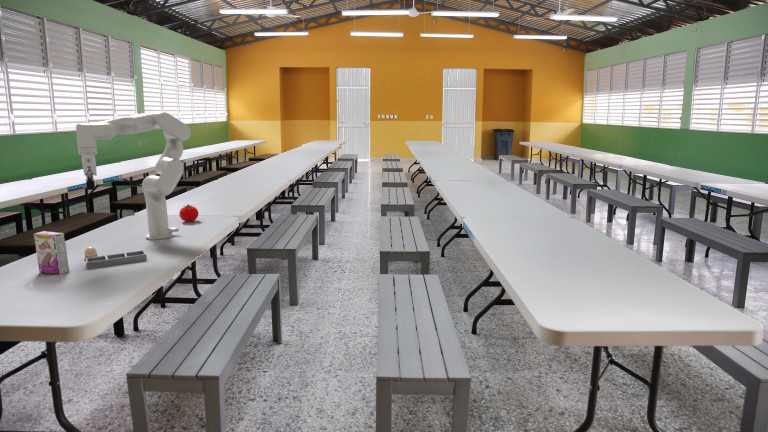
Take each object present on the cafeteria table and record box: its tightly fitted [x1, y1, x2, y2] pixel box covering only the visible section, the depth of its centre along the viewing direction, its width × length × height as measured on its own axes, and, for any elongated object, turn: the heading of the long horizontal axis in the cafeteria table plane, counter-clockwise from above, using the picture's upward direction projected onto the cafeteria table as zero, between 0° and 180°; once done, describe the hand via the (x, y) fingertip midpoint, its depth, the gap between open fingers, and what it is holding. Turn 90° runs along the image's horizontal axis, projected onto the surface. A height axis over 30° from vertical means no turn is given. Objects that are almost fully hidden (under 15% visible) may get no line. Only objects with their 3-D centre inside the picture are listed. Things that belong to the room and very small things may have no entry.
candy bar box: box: [33, 230, 70, 276], centre depth 212 cm, size 11×5×16 cm, turn 71°
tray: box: [85, 249, 148, 270], centre depth 227 cm, size 23×8×3 cm, turn 121°
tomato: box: [178, 204, 199, 223], centre depth 305 cm, size 10×10×10 cm
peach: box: [84, 246, 98, 260], centre depth 234 cm, size 5×5×5 cm
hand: (90, 188), depth 241 cm, fingers open, 9 cm apart
